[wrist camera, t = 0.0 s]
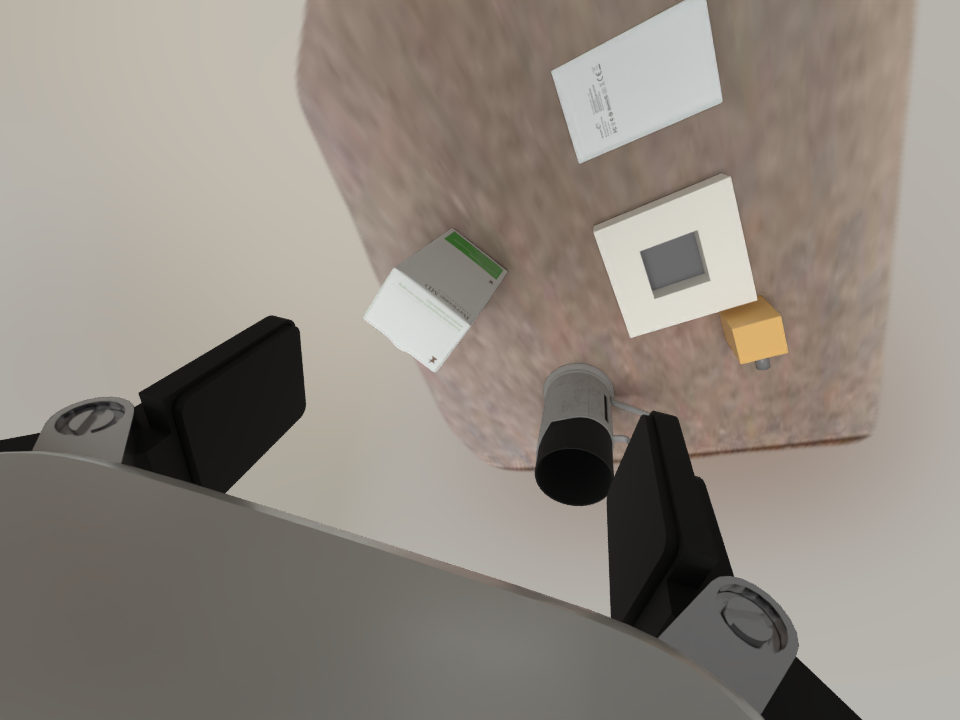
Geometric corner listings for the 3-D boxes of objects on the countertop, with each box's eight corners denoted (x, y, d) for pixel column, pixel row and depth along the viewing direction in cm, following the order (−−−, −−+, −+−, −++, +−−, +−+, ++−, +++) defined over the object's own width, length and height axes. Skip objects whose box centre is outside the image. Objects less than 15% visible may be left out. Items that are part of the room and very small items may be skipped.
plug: (717, 307, 45) (732, 329, 40) (760, 294, 43) (780, 315, 38) (729, 352, 47) (744, 377, 42) (770, 341, 45) (791, 366, 40)
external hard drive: (718, 103, 37) (579, 163, 42) (700, -6, 34) (551, 72, 38) (723, 102, 35) (578, 164, 40) (704, -12, 32) (550, 70, 37)
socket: (593, 226, 43) (593, 232, 41) (721, 173, 39) (730, 176, 36) (628, 326, 48) (630, 337, 45) (747, 289, 43) (757, 300, 40)
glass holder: (536, 368, 53) (518, 446, 40) (657, 351, 48) (680, 433, 36) (551, 424, 57) (539, 511, 44) (665, 413, 52) (688, 507, 39)
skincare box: (509, 271, 48) (477, 327, 35) (476, 312, 51) (436, 378, 38) (449, 224, 47) (393, 264, 34) (420, 269, 50) (359, 321, 37)
